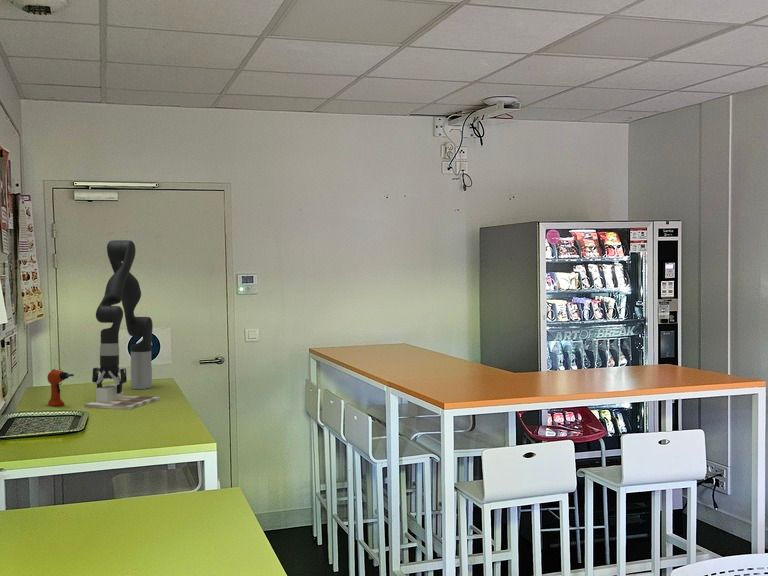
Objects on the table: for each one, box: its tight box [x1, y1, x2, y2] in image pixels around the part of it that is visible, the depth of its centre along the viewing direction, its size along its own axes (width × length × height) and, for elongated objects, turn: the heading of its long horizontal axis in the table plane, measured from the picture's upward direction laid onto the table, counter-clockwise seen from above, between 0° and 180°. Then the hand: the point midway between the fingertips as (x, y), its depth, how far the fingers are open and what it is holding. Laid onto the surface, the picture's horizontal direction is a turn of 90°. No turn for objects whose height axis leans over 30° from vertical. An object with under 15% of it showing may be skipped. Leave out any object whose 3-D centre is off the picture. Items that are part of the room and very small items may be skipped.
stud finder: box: [95, 384, 124, 403], centre depth 320 cm, size 12×5×6 cm, turn 168°
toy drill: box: [47, 368, 75, 408], centre depth 311 cm, size 5×19×15 cm, turn 51°
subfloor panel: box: [83, 394, 160, 411], centre depth 319 cm, size 24×20×1 cm
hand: (109, 393), depth 320 cm, fingers open, 8 cm apart
